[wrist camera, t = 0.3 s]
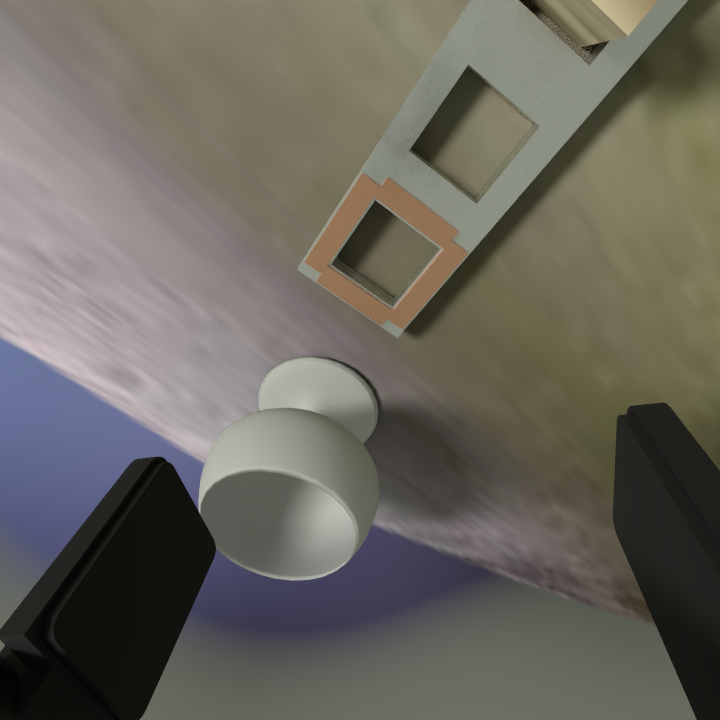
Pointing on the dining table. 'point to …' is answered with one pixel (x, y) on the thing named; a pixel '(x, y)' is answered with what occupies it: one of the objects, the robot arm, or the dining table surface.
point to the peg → (595, 18)
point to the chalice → (295, 473)
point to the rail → (478, 215)
